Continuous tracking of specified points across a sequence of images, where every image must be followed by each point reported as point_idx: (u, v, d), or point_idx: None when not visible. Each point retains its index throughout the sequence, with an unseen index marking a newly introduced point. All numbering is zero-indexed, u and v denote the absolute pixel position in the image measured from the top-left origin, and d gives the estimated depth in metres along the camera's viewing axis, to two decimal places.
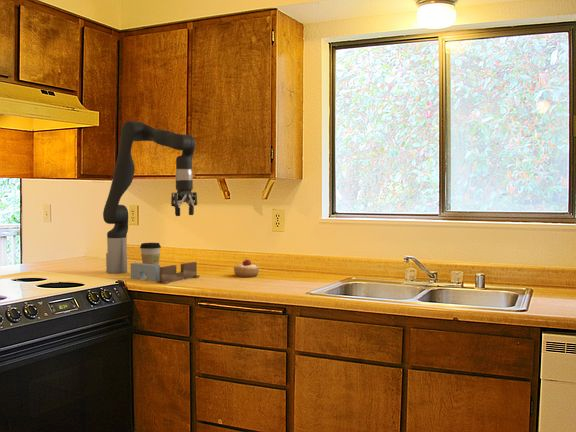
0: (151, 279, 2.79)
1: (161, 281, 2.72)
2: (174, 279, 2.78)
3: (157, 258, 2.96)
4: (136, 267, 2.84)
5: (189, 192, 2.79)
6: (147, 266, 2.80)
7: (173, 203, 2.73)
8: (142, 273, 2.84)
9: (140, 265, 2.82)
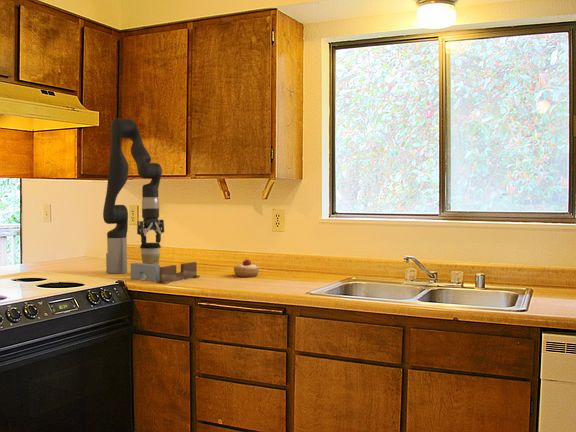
0: (151, 279, 2.79)
1: (161, 281, 2.72)
2: (174, 279, 2.78)
3: (157, 258, 2.96)
4: (136, 267, 2.84)
5: (156, 220, 2.81)
6: (147, 266, 2.80)
7: (139, 231, 2.74)
8: (142, 273, 2.84)
9: (140, 265, 2.82)
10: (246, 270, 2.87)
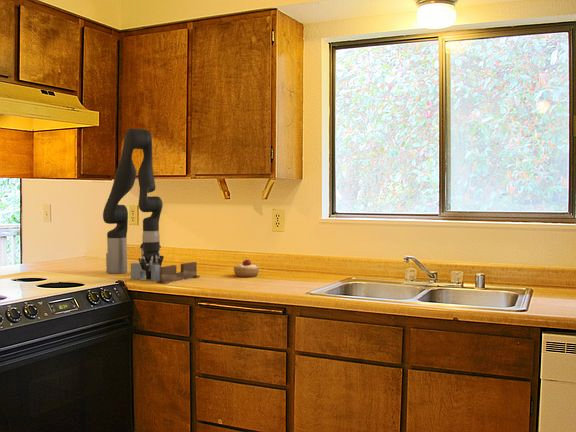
0: (151, 279, 2.79)
1: (161, 281, 2.72)
2: (174, 279, 2.78)
3: None
4: (136, 267, 2.84)
5: (157, 252, 2.82)
6: None
7: (143, 267, 2.77)
8: (142, 273, 2.84)
9: (140, 265, 2.82)
10: (246, 270, 2.87)
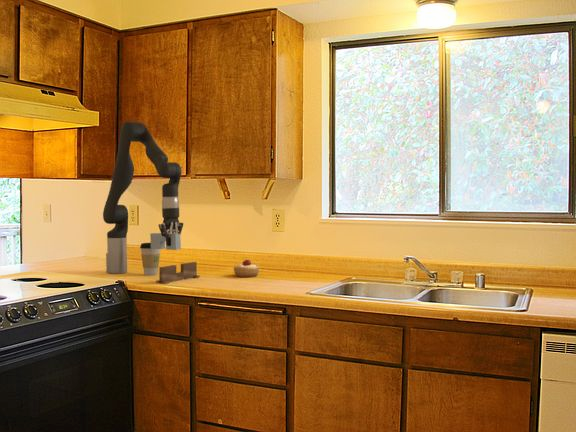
0: (171, 248, 2.76)
1: (161, 281, 2.72)
2: (174, 279, 2.78)
3: (157, 258, 2.96)
4: (156, 237, 2.81)
5: (176, 219, 2.79)
6: None
7: (163, 234, 2.74)
8: (162, 243, 2.81)
9: (160, 234, 2.80)
10: (246, 270, 2.87)
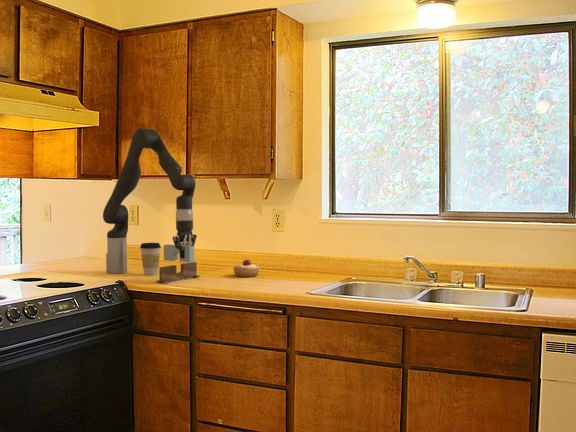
0: (185, 260, 2.76)
1: (161, 281, 2.72)
2: (174, 279, 2.78)
3: (157, 258, 2.96)
4: (170, 248, 2.81)
5: (190, 231, 2.79)
6: None
7: (177, 246, 2.75)
8: (175, 254, 2.81)
9: (173, 246, 2.80)
10: (246, 270, 2.88)
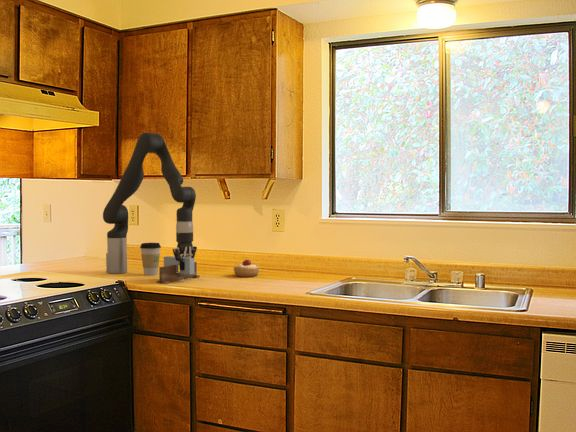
0: (185, 272, 2.76)
1: (161, 281, 2.72)
2: (174, 279, 2.78)
3: (157, 258, 2.96)
4: (170, 260, 2.81)
5: (190, 243, 2.80)
6: None
7: (177, 258, 2.75)
8: (176, 266, 2.82)
9: (174, 258, 2.80)
10: (246, 270, 2.88)
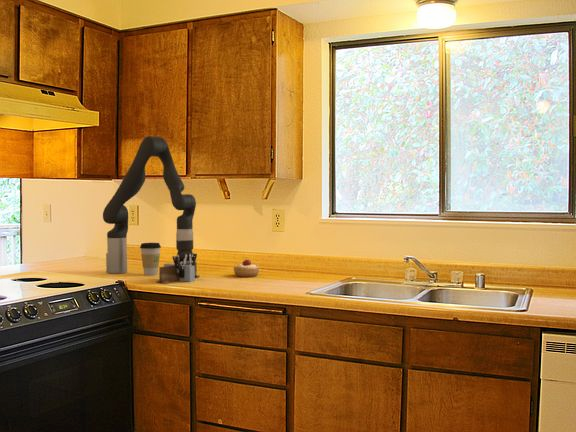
0: (185, 280, 2.77)
1: (161, 281, 2.72)
2: (174, 279, 2.78)
3: (157, 258, 2.96)
4: None
5: (190, 251, 2.80)
6: None
7: (177, 266, 2.75)
8: None
9: None
10: (246, 270, 2.88)
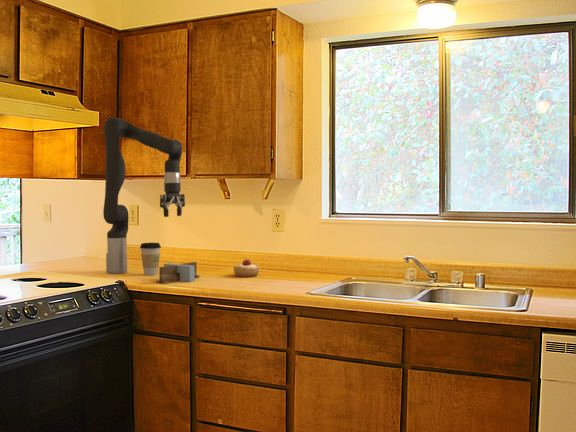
0: (185, 280, 2.77)
1: (161, 281, 2.72)
2: (174, 279, 2.78)
3: (157, 258, 2.96)
4: None
5: (177, 194, 2.94)
6: (181, 267, 2.78)
7: (162, 204, 2.88)
8: None
9: None
10: (246, 270, 2.88)
